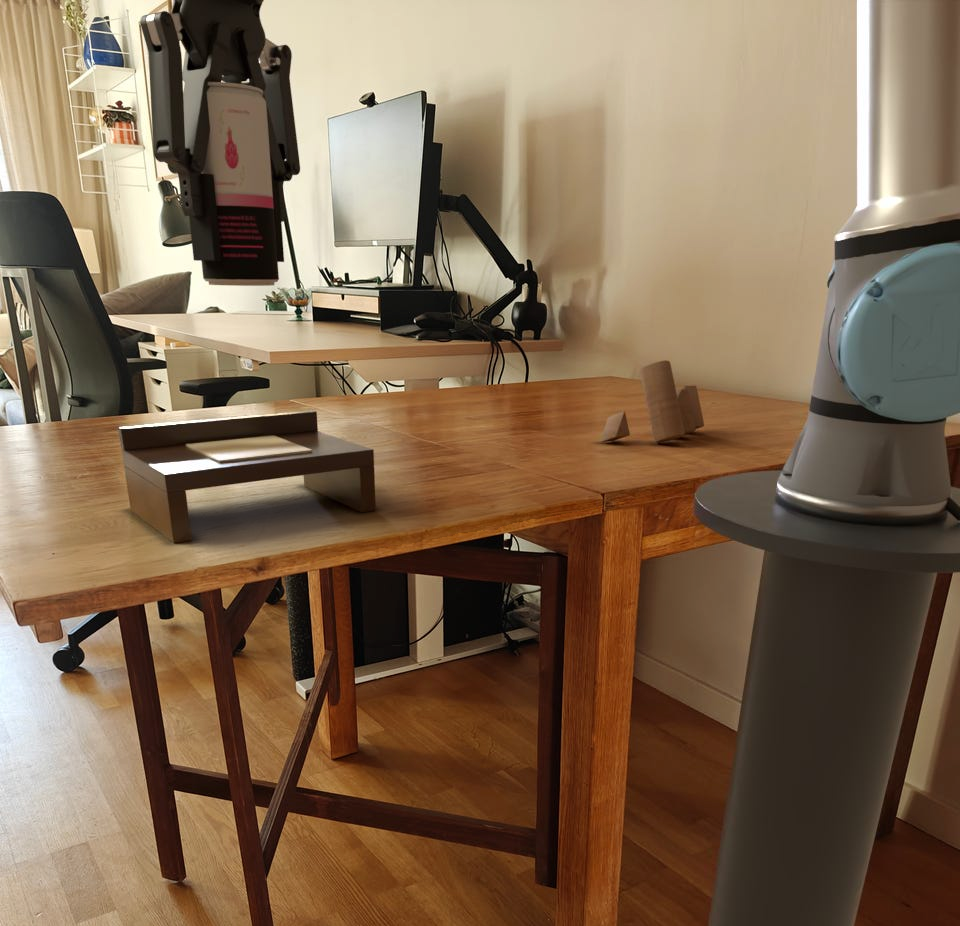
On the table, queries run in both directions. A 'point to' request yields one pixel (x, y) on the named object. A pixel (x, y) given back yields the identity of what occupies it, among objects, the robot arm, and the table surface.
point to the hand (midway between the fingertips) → (240, 260)
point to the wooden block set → (661, 407)
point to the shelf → (237, 463)
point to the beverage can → (241, 187)
